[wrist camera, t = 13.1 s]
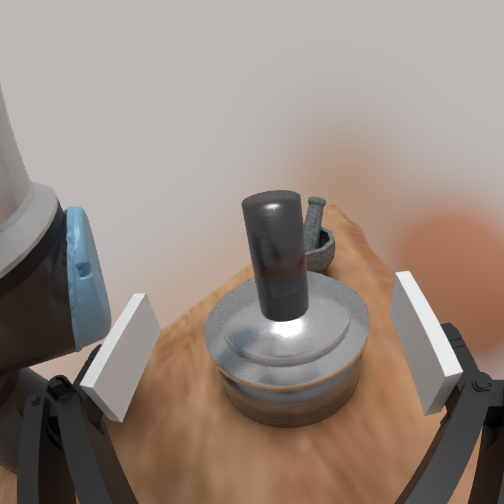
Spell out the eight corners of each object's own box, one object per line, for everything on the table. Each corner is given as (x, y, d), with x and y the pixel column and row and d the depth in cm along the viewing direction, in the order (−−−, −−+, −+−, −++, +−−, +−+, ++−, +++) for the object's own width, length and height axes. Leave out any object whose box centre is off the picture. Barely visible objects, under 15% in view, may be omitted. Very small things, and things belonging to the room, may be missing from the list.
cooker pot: (197, 369, 33) (177, 319, 29) (293, 308, 40) (288, 258, 37) (285, 459, 21) (278, 421, 18) (388, 362, 29) (399, 308, 25)
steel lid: (200, 320, 29) (167, 211, 23) (288, 269, 35) (276, 172, 29) (280, 392, 20) (258, 256, 14) (375, 311, 26) (382, 191, 20)
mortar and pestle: (314, 303, 41) (309, 224, 35) (263, 285, 47) (251, 214, 41) (348, 265, 48) (347, 196, 42) (301, 253, 54) (295, 190, 48)
